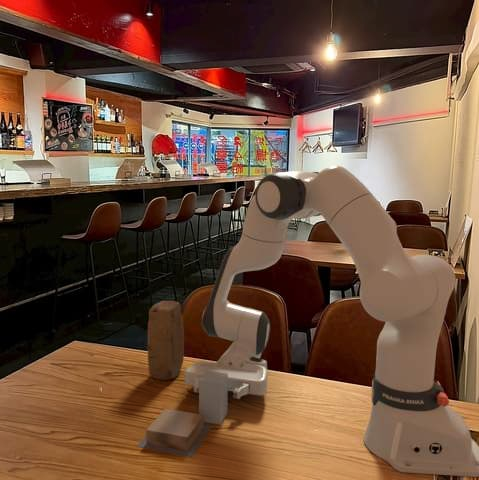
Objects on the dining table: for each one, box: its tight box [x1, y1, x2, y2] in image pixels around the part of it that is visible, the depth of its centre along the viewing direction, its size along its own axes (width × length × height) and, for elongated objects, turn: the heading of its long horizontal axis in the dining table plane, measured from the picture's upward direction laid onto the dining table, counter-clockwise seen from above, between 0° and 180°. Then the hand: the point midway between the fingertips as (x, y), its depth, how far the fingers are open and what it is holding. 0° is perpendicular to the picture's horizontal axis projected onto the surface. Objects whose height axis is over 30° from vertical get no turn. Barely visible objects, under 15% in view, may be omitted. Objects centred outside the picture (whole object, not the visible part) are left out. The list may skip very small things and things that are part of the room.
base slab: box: [145, 408, 205, 451], centre depth 98 cm, size 9×9×3 cm
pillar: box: [198, 371, 229, 425], centre depth 106 cm, size 5×5×10 cm
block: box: [147, 300, 185, 381], centre depth 128 cm, size 11×8×20 cm
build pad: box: [136, 423, 213, 458], centre depth 99 cm, size 12×12×1 cm
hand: (216, 392), depth 107 cm, fingers open, 8 cm apart
